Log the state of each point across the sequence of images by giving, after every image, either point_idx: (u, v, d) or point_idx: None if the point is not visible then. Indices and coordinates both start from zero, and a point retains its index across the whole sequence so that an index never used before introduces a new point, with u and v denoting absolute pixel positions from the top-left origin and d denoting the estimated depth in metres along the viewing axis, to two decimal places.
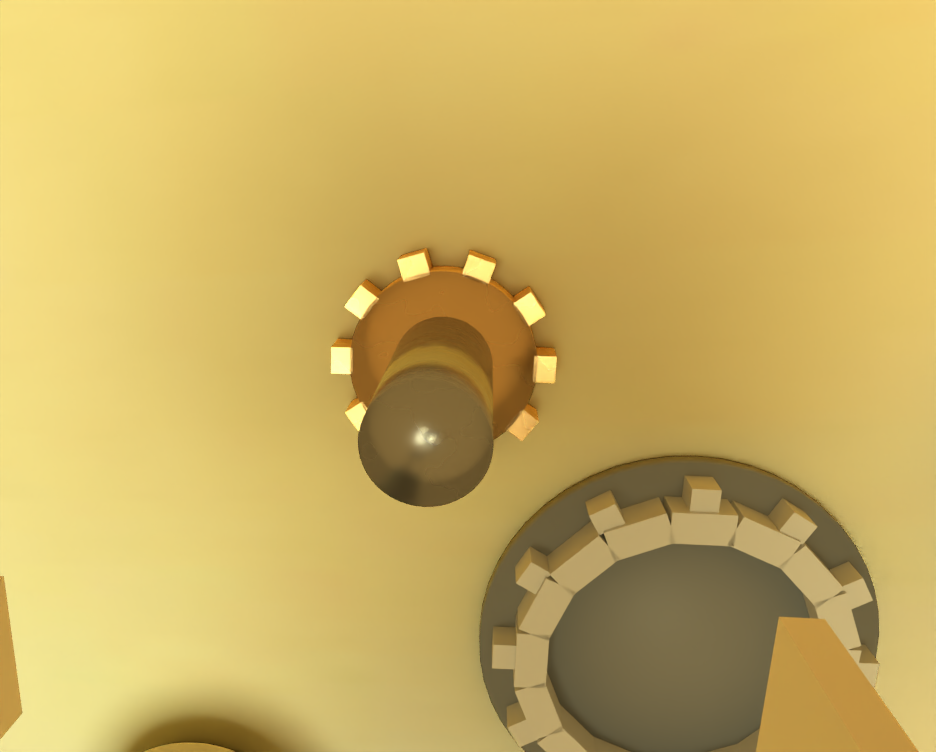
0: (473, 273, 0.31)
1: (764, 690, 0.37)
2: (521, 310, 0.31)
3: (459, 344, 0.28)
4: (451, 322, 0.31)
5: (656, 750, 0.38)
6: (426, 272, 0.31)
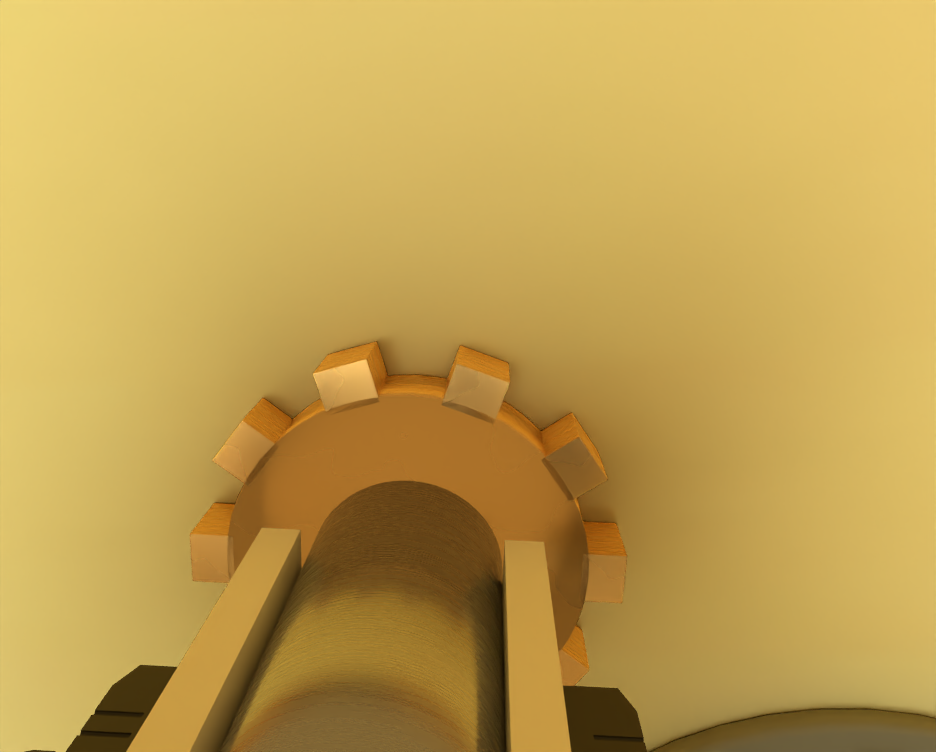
0: (465, 400, 0.16)
1: None
2: (560, 470, 0.16)
3: (431, 594, 0.12)
4: (420, 502, 0.15)
5: None
6: (372, 397, 0.16)
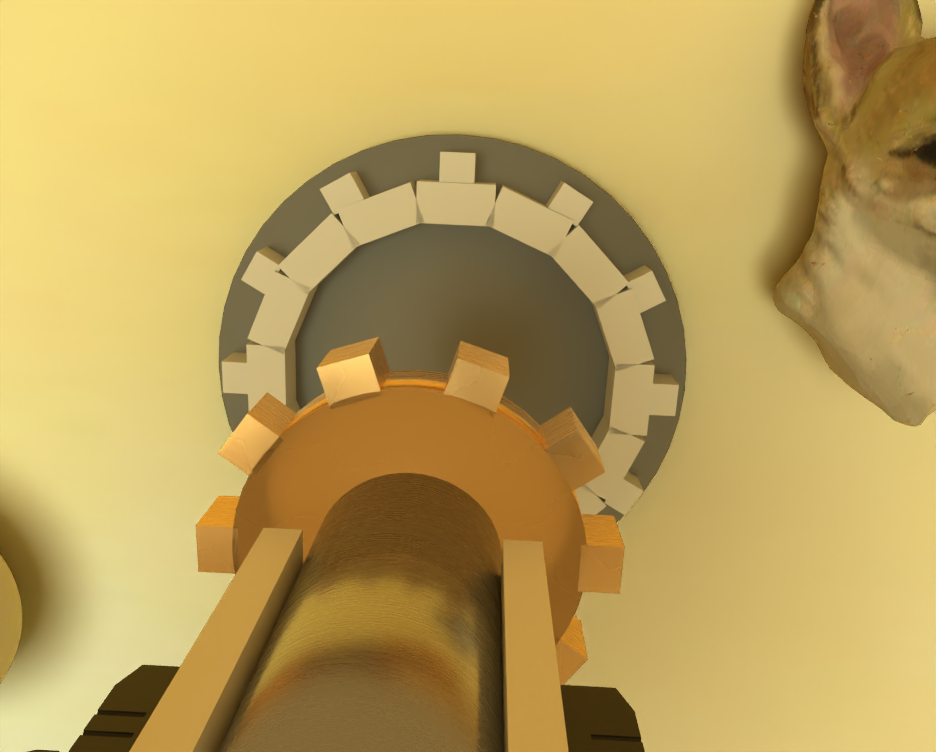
0: (466, 394, 0.16)
1: None
2: (558, 463, 0.16)
3: (432, 581, 0.13)
4: (422, 494, 0.15)
5: None
6: (374, 391, 0.16)
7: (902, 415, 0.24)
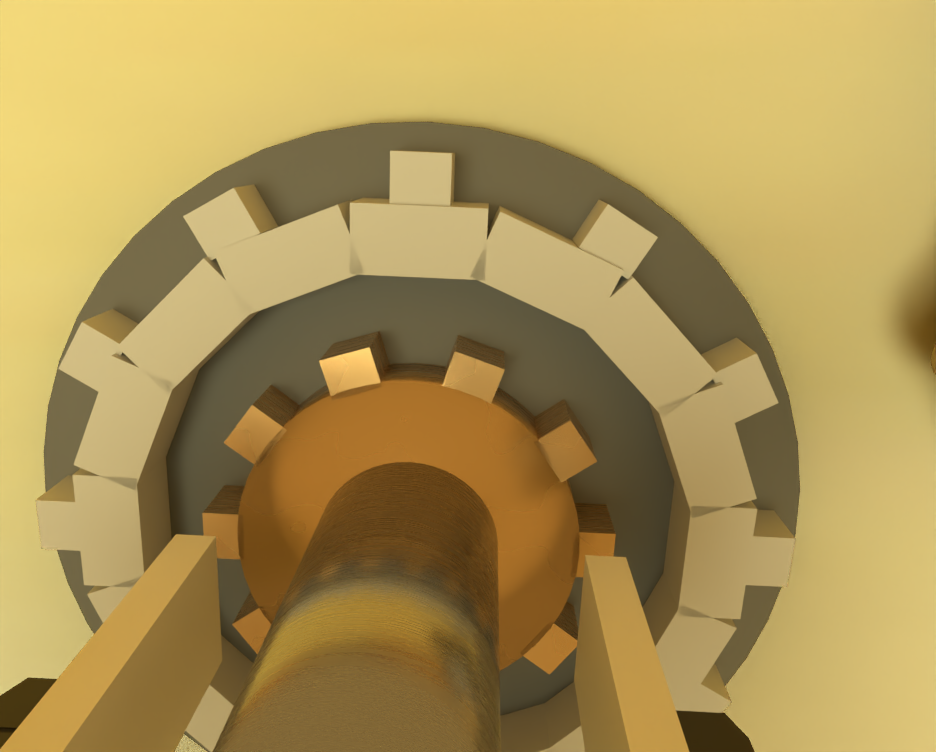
0: (462, 385, 0.17)
1: None
2: (552, 452, 0.17)
3: (430, 562, 0.13)
4: (420, 481, 0.16)
5: None
6: (374, 383, 0.17)
7: None
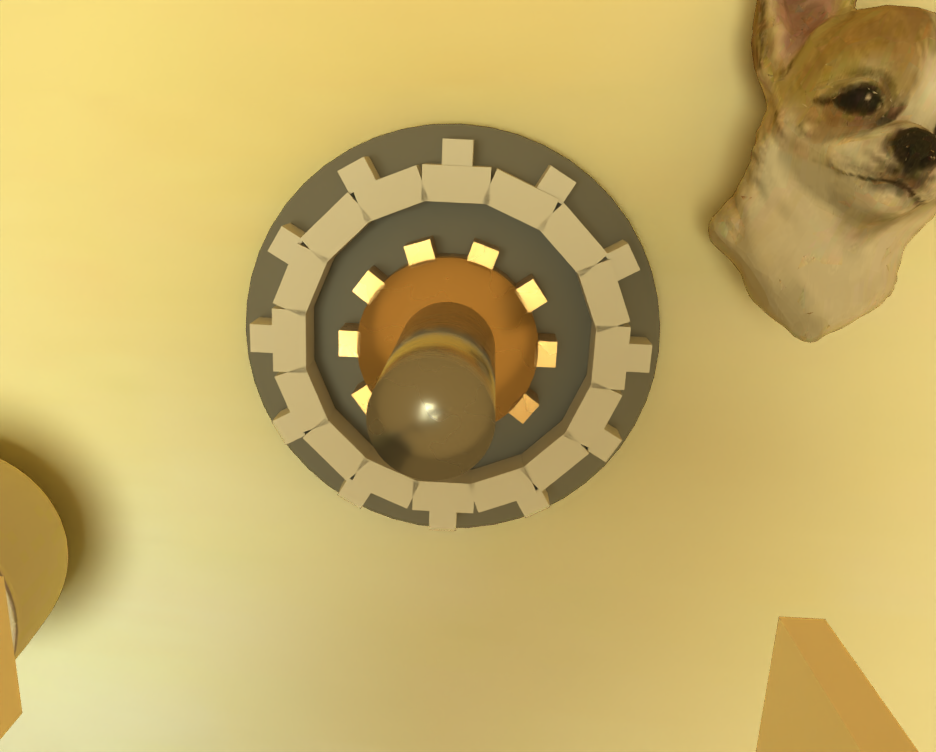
0: (477, 260, 0.32)
1: (545, 391, 0.35)
2: (523, 296, 0.32)
3: (463, 327, 0.29)
4: (455, 307, 0.32)
5: None
6: (432, 258, 0.32)
7: (801, 331, 0.28)
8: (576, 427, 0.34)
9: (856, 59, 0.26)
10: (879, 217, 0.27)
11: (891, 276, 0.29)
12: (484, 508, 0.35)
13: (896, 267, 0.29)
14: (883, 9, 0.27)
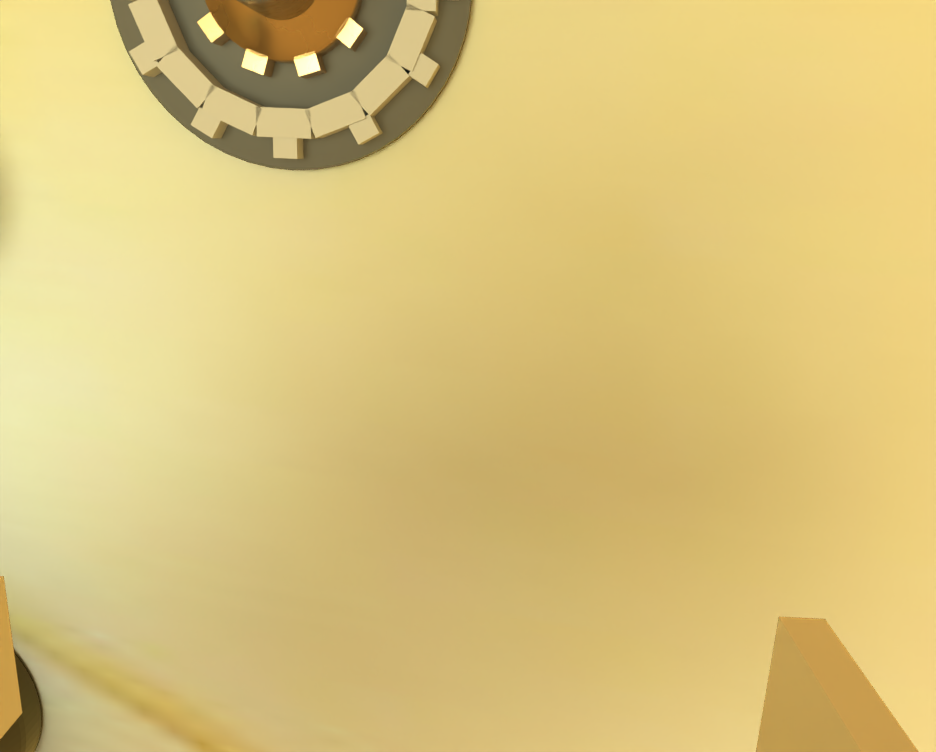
0: None
1: (374, 29, 0.39)
2: None
3: None
4: None
5: (284, 102, 0.41)
6: None
7: None
8: (396, 49, 0.38)
9: None
10: None
11: None
12: (320, 133, 0.39)
13: None
14: None
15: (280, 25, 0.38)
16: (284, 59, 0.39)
